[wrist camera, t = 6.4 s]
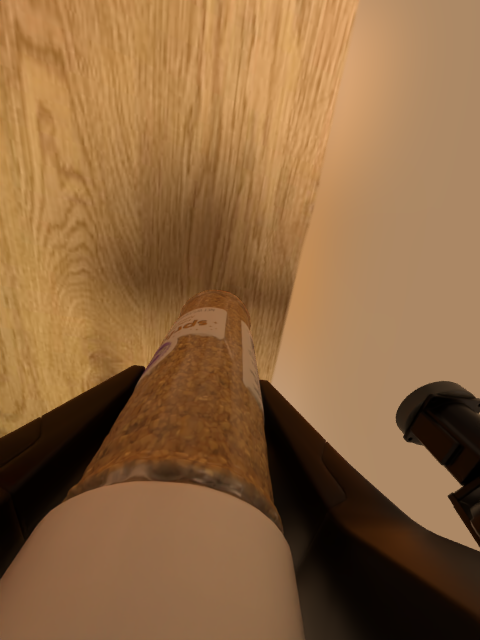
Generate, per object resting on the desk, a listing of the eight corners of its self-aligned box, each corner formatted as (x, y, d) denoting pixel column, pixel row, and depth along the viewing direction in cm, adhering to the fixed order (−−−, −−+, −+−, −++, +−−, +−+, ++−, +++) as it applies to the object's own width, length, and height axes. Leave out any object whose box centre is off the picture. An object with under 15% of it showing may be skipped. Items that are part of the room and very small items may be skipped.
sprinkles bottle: (194, 276, 14) (-178, 712, 1) (263, 305, 15) (424, 757, 2) (171, 339, 15) (-108, 821, 3) (234, 362, 16) (229, 825, 4)
